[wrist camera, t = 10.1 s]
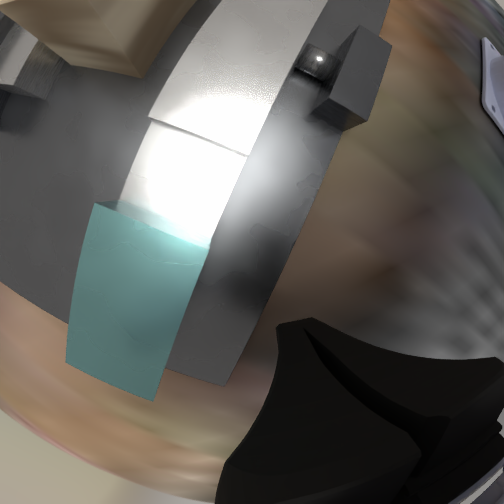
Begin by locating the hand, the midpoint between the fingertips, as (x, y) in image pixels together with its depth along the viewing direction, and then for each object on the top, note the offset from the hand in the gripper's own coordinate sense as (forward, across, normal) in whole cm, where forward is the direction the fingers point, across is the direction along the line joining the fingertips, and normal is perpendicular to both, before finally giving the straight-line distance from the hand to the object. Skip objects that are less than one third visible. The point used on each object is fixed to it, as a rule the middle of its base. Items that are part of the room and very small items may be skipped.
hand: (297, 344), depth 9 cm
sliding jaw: (+2, +2, -8) cm, 9 cm away
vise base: (+2, +5, -12) cm, 13 cm away
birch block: (+2, +4, -15) cm, 15 cm away
